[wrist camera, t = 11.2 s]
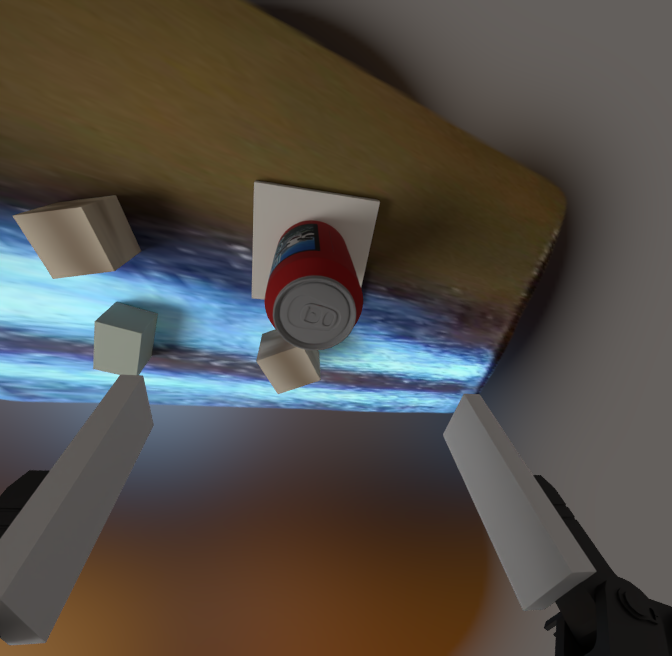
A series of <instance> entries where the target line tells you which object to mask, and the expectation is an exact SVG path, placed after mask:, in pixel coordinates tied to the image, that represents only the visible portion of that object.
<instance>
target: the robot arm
mask: <svg viewBox="0 0 672 656" xmlns="http://www.w3.org/2000/svg"><path fill="white" fill-rule="evenodd" d="M153 425H154V424H153V420H152V415H151V410H150V406H149V401H148V396H147V392H146V387H145V382H144V378H143V376H140V375H123V374H121V375H120V376H119V377H118V379H117V380H116V382H115V383H114V384H113V386H112V387H111V388H110V390H109V391H108V392H107V394H106V395H105V397H104V398H103V399H102V401H101V402H100V403H99V405H98V406H97V408H96V409H95V410H94V412H93V413H92V414H91V416H90V417H89V418H88V420H87V421H86V423H85V424H84V425H83V427H82V428H81V429H80V431H79V432H78V433H77V435H76V436H75V438H74V439H73V440H72V442H71V443H70V444H69V446H68V447H67V449H66V450H65V451H64V453H63V454H62V455H61V457H60V458H59V459H58V461H57V462H56V464H55V465H54V466H53V467H52V469H51V470H50V471H33V470H32V471H28V472H27V473H26V474H24V475H23V476H22V477H20V478H19V479H18V480H17V481H15V482H14V483H13V484H11V485H10V486H9V487H8V488H7V489H6V490H5V491H4V492H3V493H2V495H1V496H0V638H1V639H2V640H3V641H5V642H6V643H7V644H9V645H21V644H35V643H46V641H47V639H48V637H49V635H50V633H51V631H52V629H53V627H54V625H55V623H56V621H57V619H58V617H59V615H60V613H61V611H62V609H63V607H64V605H65V603H66V601H67V599H68V597H69V595H70V593H71V591H72V589H73V587H74V584H75V583H76V580H77V578H78V577H79V574H80V572H81V571H82V568H83V566H84V564H85V562H86V560H87V558H88V556H89V554H90V552H91V550H92V548H93V546H94V544H95V542H96V540H97V538H98V536H99V534H100V532H101V530H102V528H103V526H104V524H105V522H106V520H107V518H108V516H109V514H110V512H111V510H112V508H113V506H114V504H115V502H116V500H117V498H118V496H119V494H120V492H121V490H122V488H123V486H124V484H125V482H126V480H127V478H128V476H129V473H130V472H131V470H132V468H133V466H134V464H135V462H136V460H137V458H138V456H139V454H140V452H141V450H142V448H143V446H144V444H145V442H146V440H147V437H148V436H149V434H150V432H151V430H152V428H153ZM443 436H444V438H445V440H446V442H447V445H448V447H449V449H450V451H451V454H452V456H453V458H454V460H455V462H456V464H457V467H458V469H459V471H460V473H461V475H462V478H463V480H464V482H465V484H466V486H467V489H468V491H469V493H470V495H471V497H472V499H473V502H474V504H475V506H476V508H477V511H478V513H479V515H480V517H481V519H482V521H483V524H484V526H485V528H486V530H487V532H488V535H489V537H490V539H491V541H492V543H493V546H494V548H495V550H496V552H497V554H498V556H499V559H500V561H501V563H502V565H503V567H504V570H505V572H506V574H507V576H508V578H509V581H510V583H511V585H512V587H513V589H514V592H515V594H516V596H517V598H518V600H519V603H520V605H521V607H522V609H523V611H527V610H542V609H546V608H547V607H549V606H550V605H551V604H553V603H554V602H556V604H557V606H558V608H559V610H560V612H559V613H558V614H556V615H555V616H553V617H552V618H550V619H549V620H547V621H546V623H545V626H544V628H545V629H546V630H547V631H548V630H550V629H551V628H553V627H555V626H556V632H555V633H554V636H555V637H556V646H555V656H672V607H671V606H668V605H665V604H662V603H660V602H657V601H654V600H651V599H648V597H647V596H646V595H645V594H644V593H643V592H642V591H641V590H640V589H638V588H637V587H636V586H634V585H633V584H632V583H631V582H629V581H627V580H625V579H623V578H620V577H618V576H617V575H616V574H615V573H614V572H613V571H612V569H611V568H610V567H609V565H608V564H607V563H606V561H605V560H604V558H603V557H602V555H601V554H600V552H599V551H598V550H597V548H596V547H595V545H594V544H593V542H592V541H591V540H590V538H589V537H588V535H587V534H586V532H585V531H584V530H583V528H582V527H581V525H580V524H579V522H578V521H577V520H575V518H574V515H573V514H572V512H571V511H570V509H569V508H568V507H566V504H565V502H564V501H563V499H562V498H561V497H560V495H559V494H558V492H557V491H556V490H555V488H554V487H553V486H552V485H551V484H550V483H548V482H547V481H546V480H545V479H544V478H543V477H542V476H541V475H532V473H531V471H530V470H529V469H528V467H527V465H526V464H525V462H524V461H523V459H522V458H521V456H520V455H519V453H518V452H517V450H516V449H515V447H514V446H513V444H512V443H511V441H510V440H509V438H508V437H507V435H506V434H505V432H504V431H503V429H502V428H501V426H500V425H499V423H498V422H497V420H496V419H495V417H494V416H493V414H492V412H491V411H490V410H489V408H488V406H487V405H486V403H485V402H484V401H483V399H482V397H481V396H480V395H478V394H464V395H463V397H462V399H461V400H460V402H459V404H458V406H457V408H456V410H455V412H454V414H453V416H452V418H451V420H450V422H449V424H448V426H447V428H446V430H445V432H444V434H443Z"/></svg>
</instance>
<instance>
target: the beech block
mask: <svg viewBox="0 0 672 656" xmlns="http://www.w3.org/2000/svg"><path fill="white" fill-rule="evenodd" d="M13 217H14V219H15V220H16V222H17V223H18V225H19V226H20V228H21V230H22V231H23V233H24V234H25V236H26V237H27V239H28V240H29V242H30V244H31V245H32V247H33V248H34V250H35V251H36V253H37V254H38V256H39V258H40V259H41V261H42V262H43V264H44V265H45V267H46V268H47V270H48V272H49V273H50V275H51V276H52V278H53V279H56V278H64V277H71V276H79V275H87V274H95V273H103V272H111V271H115V270H117V269H118V268H119V267H121V266H122V265H123V264H125V263H126V262H127V261H129V260H130V259H131V258H133V257H134V256H135V255H137V254H138V253H140V252H141V250H140V247H139V245H138V243H137V241H136V239H135V236H134V234H133V232H132V230H131V227H130V225H129V223H128V221H127V219H126V216H125V214H124V212H123V210H122V208H121V205H120V203H119V201H118V199H117V197H116V195H113V196H105V197H97V198H89V199H81V200H72V201H64V202H57V203H54V204H50V205H47V206H44V207H40V208H37V209H33V210H30V211H27V212H23V213H20V214H17V215H13Z"/></svg>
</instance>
